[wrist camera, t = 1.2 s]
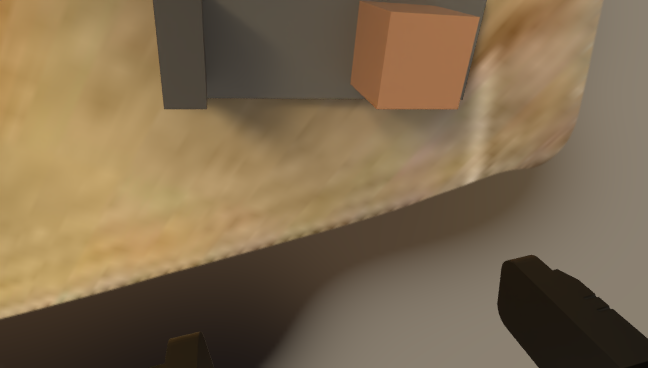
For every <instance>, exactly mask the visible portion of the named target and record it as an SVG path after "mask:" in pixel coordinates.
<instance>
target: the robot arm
mask: <svg viewBox="0 0 648 368" xmlns="http://www.w3.org/2000/svg"><path fill="white" fill-rule="evenodd" d="M497 305H498V311H499V315H500V318H501V320H502V322H503V324H504V325H505V326H506V328H507V329H508V330H509V332H510V333H511V334H512V335H513V337H514V338H515V339H516V340H517V341H518V343H519V344H520V345H521V346H522V348H523V349H524V350H525V351H526V352H527V354H528V355H529V356H530V357H531V359H532V360H533V361H534V362H535V364H536V365H537V366H538V367H539V368H648V338H646V337H645V336H644V335H643V334H642V333H640V332H639V331H638V330H637V329H636V328H635V327H633V326H632V325H631V324H630V323H629V322H628V321H626V320H625V319H624V318H623V317H622V316H620V315H619V314H618V313H617V312H616V311H615V310H613V309H610V308H609V305H608V304H606V303H605V302H604V301H603V300H602V299H600V298H599V297H596V296H595V293H593V292H592V291H591V290H590V289H589V288H587V287H586V286H585V285H584V284H583V283H581V282H580V281H579V280H578V279H576V278H574V277H572V276H570V275H568V274H566V273H564V272H562V271H560V270H558V269H556V270H551V269H550V268H549V267H548V266H547V265H546V264H545V263H544V262H542V261H541V260H540V259H539V258H538V257H536V256H534V255H529V256H525V257H521V258H516V259H512V260H508V261H505V262H504V263H503V264H502V269H501V277H500V286H499V294H498V303H497ZM149 368H214V366H213V363H212V360H211V357H210V354H209V351H208V348H207V345H206V342H205V338H204V336H203V334H202V332H197V333H193V334H189V335H185V336H180V337H176V338H172V339H170V340H169V341H168V345H167V352H166V359H165V364H161V365H157V366H153V367H149Z"/></svg>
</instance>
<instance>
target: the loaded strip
mask: <svg viewBox="0 0 648 368" xmlns="http://www.w3.org/2000/svg"><path fill="white" fill-rule="evenodd" d="M360 1H373V2H387V3H402V4H417V5H432V6H439V7H442V8H446V9H450V10H454V11H458V12H462V13H466V14H470V15H474V16H478V17H480V19H479V23H478V27H477V31H476V35H475V40H474V44H473V48H472V52H471V56H470V60H469V65H468V69H467V73H466V77H465V81H464V85H463V89H462V94H461V98H460V100H463V96H464V92H465V88H466V84H467V79H468V75H469V71H470V67H471V63H472V59H473V55H474V51H475V47H476V43H477V38H478V34H479V30H480V26H481V22H482V18H483V14H484V10H485V6H486V2H487V0H153V6H154V15H155V25H156V35H157V44H158V54H159V64H160V74H161V83H162V93H163V103H164V109H207V98H271V99H366V98H365V97H364V96H362V95H361V94H360V93H359V92H358V91H357V90H356V89H355V88H354V87H353V86H352V85H351V84H350V83H351V74H352V65H353V56H354V47H355V38H356V29H357V20H358V11H359V2H360Z"/></svg>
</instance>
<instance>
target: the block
mask: <svg viewBox="0 0 648 368" xmlns="http://www.w3.org/2000/svg"><path fill="white" fill-rule="evenodd" d="M479 19H480V17H478V16H474V15H470V14H466V13H462V12H458V11H454V10H450V9H446V8H442V7H439V6H432V5H417V4H402V3H387V2H373V1H360V2H359V11H358V20H357V29H356V38H355V47H354V56H353V65H352V74H351V83H350V84H351V85H352V86H353V87H354V88H355V89H356V90H357V91H358V92H359V93H360V94H361V95H362V96H364V97H365V98H366V99H367V100H368V101H369V102H370V103H371V104H372V105H373V106H374V107H375V108H376V109H458V106H459V102H460V98H461V94H462V89H463V85H464V81H465V77H466V73H467V69H468V65H469V60H470V56H471V52H472V48H473V44H474V40H475V35H476V31H477V27H478V23H479Z"/></svg>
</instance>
